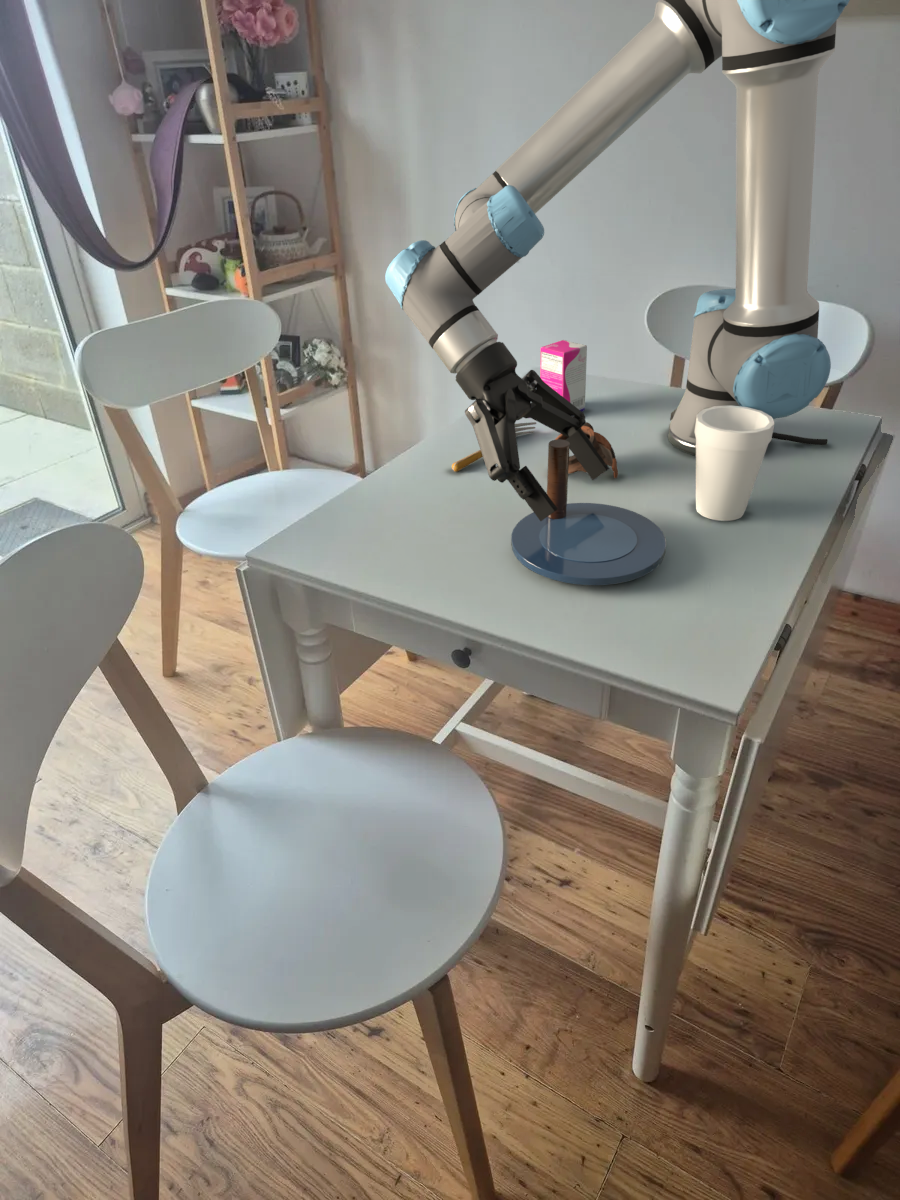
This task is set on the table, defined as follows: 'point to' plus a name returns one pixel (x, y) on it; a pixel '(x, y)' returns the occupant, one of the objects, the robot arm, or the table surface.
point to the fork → (478, 454)
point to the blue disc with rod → (585, 536)
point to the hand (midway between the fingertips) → (576, 494)
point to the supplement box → (565, 370)
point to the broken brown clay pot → (601, 447)
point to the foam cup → (729, 458)
